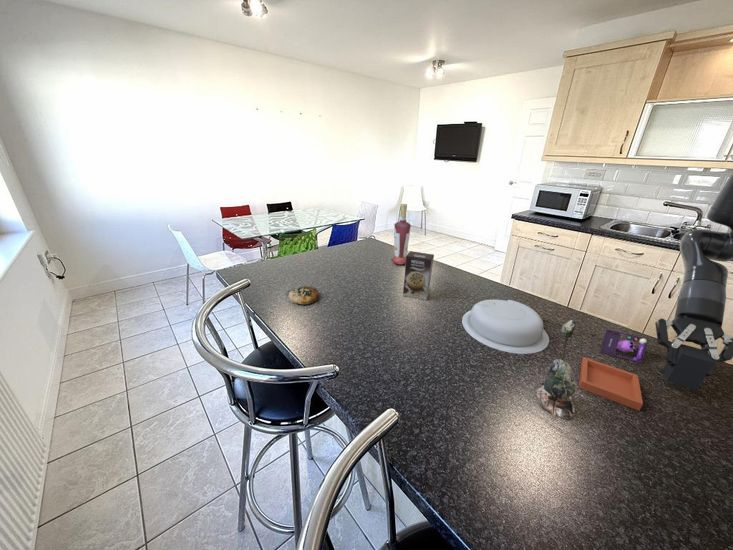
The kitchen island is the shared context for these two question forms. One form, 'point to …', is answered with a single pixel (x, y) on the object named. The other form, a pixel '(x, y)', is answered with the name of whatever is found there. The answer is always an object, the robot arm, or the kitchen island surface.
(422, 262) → the dark cardboard box
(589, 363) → the base pad
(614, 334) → the purple box
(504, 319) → the grey round dish
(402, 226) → the liquor
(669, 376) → the pad block
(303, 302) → the bread roll
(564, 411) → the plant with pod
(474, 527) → the kitchen island surface
